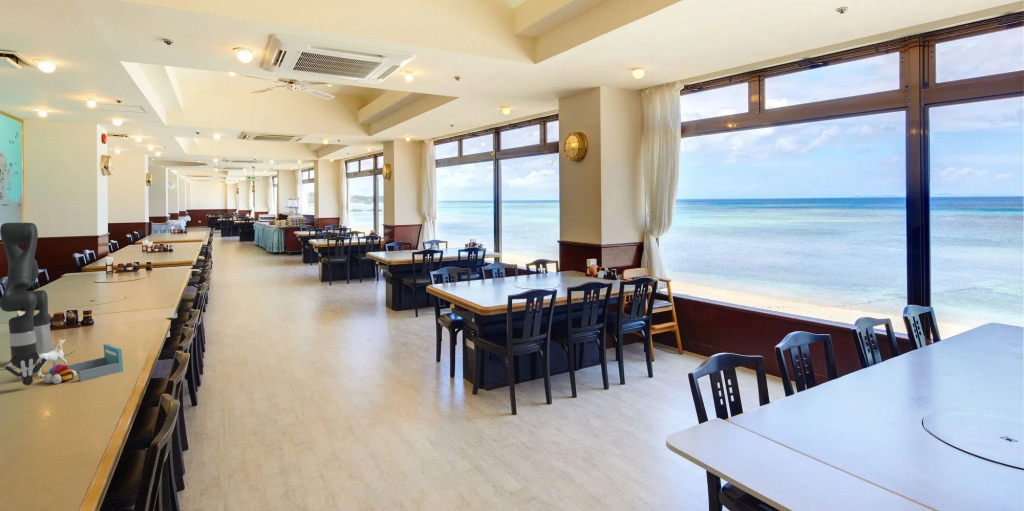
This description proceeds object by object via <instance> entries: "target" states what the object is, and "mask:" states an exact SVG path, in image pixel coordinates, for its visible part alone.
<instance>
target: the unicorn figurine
mask: <svg viewBox="0 0 1024 511" xmlns="http://www.w3.org/2000/svg"><path fill="white" fill-rule="evenodd" d="M65 341H66V339H61V337H59V336H58V339H57V344H55V345H54V346H53V347H52V350H51V351H49V352H48V353H44V354H39V357H41V358H45V359H46V360H47V361H46V362H45V363H44V365H43V366H42V367H41V368H40V370H39V371H38V372H37V373H36V374H37V377H38V378H44V376H45V375H44V374H43V373H42V368H43V367H44V366H45V364H46V363H52V367H54V366H55V365H56V364H57V361H58V360H59V361H61V362H63V365H68V364H67V363H68V360H67V359H66V358H64V356H65V353H64V351H63V347H64V343H65ZM37 361H38V360H37ZM37 361H36V363H35V364H34V365H33V368H34V367H35V366H36V365H37V363H38V362H37Z"/></svg>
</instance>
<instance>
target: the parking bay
mask: <svg viewBox="0 0 1024 511" xmlns="http://www.w3.org/2000/svg"><path fill="white" fill-rule="evenodd" d="M122 351H123V350H122V348H120V347H118V346H114V345H111V344H108V343H103V353H104V354H103V356H104V357H99V358H95V359H90V360H84V361H81V362H76V363H71V364H66V365H67V366H68V369H71V370H74V371H76V373H77V374H78V379H79V380H78V381H79V382H83V381H88V380H92V379H96V378H100V377H101V378H102V377H104V376H109V375H112V374H116V373H120V372H124V363H123V354H122Z"/></svg>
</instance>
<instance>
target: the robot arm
mask: <svg viewBox="0 0 1024 511" xmlns="http://www.w3.org/2000/svg"><path fill="white" fill-rule="evenodd" d="M38 235H39V233H38V228H37V225H36V224H35V223H33V222H4V223H3V224H1V226H0V238H1V242H2V245H3V247H4V251H5V254H6V258H7V264H8V270H7V276H6V277H7V278H6V287H5V288H4V291H3V293H2V294H1V297H0V309H1V310H2V311H4V312H7V313H9V312H24V313H23V314H21V315H18V316H14V317H11V318H10V319H9V320H8V329H9V347H10V355H11V359H10V360H9V363H8V364H6V365H3V369H4V370H6V371H8V372H10V373H11V374H12V375H13V376H15V377H18V378H19V377H21V383H22V385H25V386H30V385H32V383H33V381H34V379H33V375H35V374H37V372H38V371H39V370H40V368H41V367H42V366H43V365H44V366H45V364H46V363H47V362H46V361H47V360H46V359H45V358H41V357H39V354H44V353H48V352H49V351H51V350H52V349H53V346H52V336H51V335H52V333H51V326H50V317H49V299H48V293H47V291H45V290H44V289H40V290H39V289H38V290H28V289H30V288H31V287H32V284H33V283H34V282H35V281H36V280H37V279H38V277H39V275H40V271H39V265H38V261H37V260H36V259H35V256H36V255H35V254H36V250H37V245H38V238H39V236H38ZM21 245H23V246H24V245H25V248H24V250H23V249H21V248H20V247H19V246H21ZM36 311H38V312H37V313H36V314H35V312H36ZM37 360H38V361H37ZM36 361H37V362H38V363H37V365H36V366H35V367H34V368H33V365H34V364H36ZM45 362H46V363H45ZM44 363H45V364H44ZM44 366H43V367H44ZM14 367H16V368H17V369H19V372H18V371H16V370H15V369H14ZM43 367H42V368H43ZM42 368H41V369H42Z"/></svg>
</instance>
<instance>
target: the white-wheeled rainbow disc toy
mask: <svg viewBox="0 0 1024 511" xmlns="http://www.w3.org/2000/svg"><path fill="white" fill-rule="evenodd" d="M67 365H68V364H66V365H64V364H62V363H56V364H55V366H54V367H53V366H52V367H50V368H49V369H48V373H47V374H45V375H44V377H43V381H44V382H45V383H46V384H52V383H53V384H55V385H58V384H61V383H62V381H68V380H73V379H76V377H77V374H78V373H76V371H74V370H71V369H68V366H67Z"/></svg>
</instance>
